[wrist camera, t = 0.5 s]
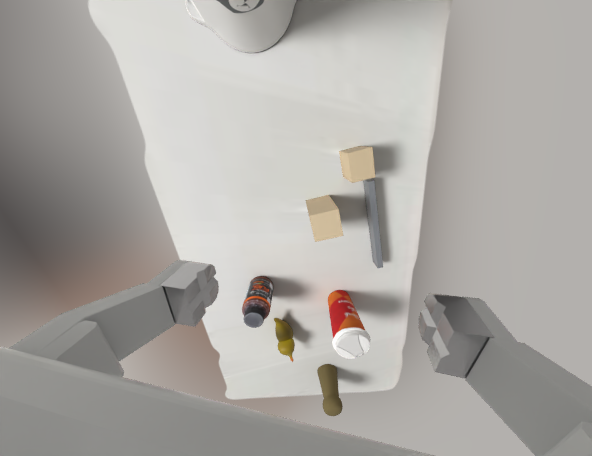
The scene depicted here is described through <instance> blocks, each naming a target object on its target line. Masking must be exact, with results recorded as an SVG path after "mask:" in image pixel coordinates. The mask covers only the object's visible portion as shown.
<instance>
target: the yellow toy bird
mask: <svg viewBox="0 0 592 456" xmlns="http://www.w3.org/2000/svg"><path fill="white" fill-rule="evenodd" d="M274 321H275V322H276V337H277V339H278V340H279V343H278V350H279V351H280V353H281V354H283V355H288V356H289V357H290V359H291V361H292V362H293V358H292V353H293V351H294V346H295V344H294V340H293V339H292V338H293V331H292V328H291V327H290V326H289V324H288V323H286V322H285V321H283V320H281V319H278V318H274Z"/></svg>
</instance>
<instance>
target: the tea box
mask: <svg viewBox="0 0 592 456" xmlns="http://www.w3.org/2000/svg"><path fill="white" fill-rule="evenodd" d="M339 154H340V160H341V166H342V173H343V177H344V178H346V179H347V180H349V181H350V182H352V183H354V182H358V181H362V180H366V179H370V178H375V168H374V158H373V148H372V147H366V146H358V147H354V148H350V149H346V150H342V151H339Z"/></svg>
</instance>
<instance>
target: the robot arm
mask: <svg viewBox="0 0 592 456" xmlns="http://www.w3.org/2000/svg"><path fill="white" fill-rule="evenodd" d="M296 1H297V0H185V3H186V8H187V11H188V13H189V15H190V16H191V18H192V19H193V20H194V21H196V22H197V23H199V24H201V25H204V26H206V27H209V28H210V29H211V30H212V31H213V32H214V33H215V34H216V35H217V36H218V37H219V38H220V39H221V40H222V41H223V42H225V43H226V44H227V45H229V46H230V47H232V48H234V49H236V50H239V51H242V52H248V53H255V52H260V51H263V50H266V49H268V48H270V47H271V46H273V45H274V44H275V43H276V42H277V41H278V40H279V39H280V38H281V37H282V36H283V34H284V33H285V31H286V29H287V27H288V25H289V23H290V20H291V17H292V14H293V10H294V6H295V3H296ZM215 274H216V271H215V267H214V266H213V265H211V264H205V263H198V262H192V261H184V260H178V261H175V262H174V263H173V264H171V265H170V266H169V267H167V268H166V269H165V270H164V271H162V272H161V273H160V274H159V275H157V276H156V277H155V278H153V279H152V280H151V281H150V282H148V283H147V284H144V283H143V284H140V285H137V286H135V287H132V288H129V289H127V290H124V291H121V292H119V293H116V294H113V295H110V296H108V297H105V298H102V299H100V300H97V301H95V302H92V303H89V304H86V305H84V306H81V307H78V308H76V309H73V310H70V311H67V312H65V313H62V314H60V315H59V316H57V317H56V318H54V319H53V320H51V321H49V322H48V323H46V324H45V325H43V326H42V327H40V328H39V329H37V330H36V331H34V332H33V333H31V334H30V335H28V336H27V337H25V338H24V339H22V340H21V341H19V342H17V343H16V344H14V345H13V346H11V347H10V348H5V347H1V346H0V456H434V455H430V454H426V453H422V452H418V451H414V450H410V449H406V448H402V447H398V446H394V445H390V444H386V443H382V442H378V441H374V440H370V439H366V438H362V437H358V436H354V435H351V434H346V433H343V432H339V431H334V430H330V429H327V428H322V427H319V426H315V425H311V424H307V423H303V422H299V421H295V420H291V419H287V418H283V417H279V416H275V415H271V414H267V413H263V412H259V411H255V410H251V409H248V408H243V407H239V406H236V405H232V404H228V403H224V402H220V401H216V400H212V399H208V398H204V397H200V396H196V395H192V394H188V393H184V392H180V391H175V390H172V389H168V388H164V387H160V386H156V385H152V384H148V383H144V382H140V381H136V380H132V379H128V378H124V377H122V376H123V374H124V370H123V368H122V367H121V365H120V363H119V361H121V360H122V359H123V358H125V357H127V356H128V355H130V354H131V353H133V352H134V351H136V350H137V349H139V348H140V347H142V346H143V345H145V344H146V343H148V342H149V341H151V340H152V339H154V338H155V337H157V336H159V335H160V334H161V333H163V332H165V331H166V330H168V329H169V328H171V327H172V326H174V325H175V324H182V325H188V326H196V325H197V324H198V322H199V321H200V320H201V318H202V317H203V316H204V314H205V313H206V312H205V308H206V307H208V306H210V305H212V303H213V302H214V301H215V299H216V297H217V294H218V287H219V286H218V281H217V280H216V279H215V278H214V275H215ZM424 302H425V304H426V307H427V308H425V309H423V310H422V311H421V312H420V316H419V331H420V334H421V337H422V339H423V340H424V341H425V342H426V343H427V344H428V345H429V348H428V350H427V353H428V356H429V358H430V361H431V363H432V366H433V368H434V371H435V372H438V373H442V374H447V375H452V376H456V377H461V378H466V381H467V382H468V383H469V384H470V385H471V386H472V388H473V389H474V390H475V391H476V392H477V393H478V394H479V395H480V396H481V397H482V398H483V399H484V401H485V402H486V403H487V404H488V405H489V406H490V407H491V408H492V409H493V410H494V411H495V413H496V414H497V415H498V416H499V417H500V418H501V419H502V420H503V421H504V422H505V423H506V424H507V425H508V426H509V428H510V429H511V430H512V431H513V432H514V433H515V434H516V435H517V436H518V437H519V438H520V440H521V441H522V442H523V443H524V444H525V445H526V446H527V447H528V448H529V449H530V450H531V451H532V453H534V455H535V456H592V386H590V385H589V384H587V383H585V382H584V381H582V380H581V379H579V378H578V377H576V376H575V375H573V374H572V373H570V372H568V371H567V370H565V369H564V368H562V367H561V366H559V365H557V364H556V363H554V362H553V361H551V360H550V359H548V358H546V357H545V356H543V355H542V354H540V353H539V352H537V351H536V350H534V349H532V348H531V347H529V346H528V345H526V344H525V343H520V342H517V341H516V339H515V338H514V337H513V336H512V334H511V333H510V332H509V331H508V330H507V329H506V327H505V326H504V325H503V324H502V322H501V321H500V320H499V319H498V318H497V316H496V315H495V314H494V313H493V312H492V310H491V309H490V308H489V307H488V306H487V304H486V303H485V302H484V301H482V300H481V299H479V298H470V297H469V298H468V297H457V296H449V295H441V294H432V293H429V294H428V295H427V296H426V298H425V301H424Z"/></svg>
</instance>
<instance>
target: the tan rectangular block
mask: <svg viewBox="0 0 592 456" xmlns="http://www.w3.org/2000/svg"><path fill="white" fill-rule="evenodd" d="M306 204H307V209H308V213H309V217H310V222H311V226H312V230H313V234H314V239H315V242H317V241H322V240H326V239H331V238H335V237H339V236H343V231H342V226H341V220H340V214H339V209H338V207H337V206H336V205H335V203H334V202H333V200H332V199H331V197H330V196H329V195H326V196H322V197H318V198H314V199H310V200H306Z"/></svg>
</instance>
